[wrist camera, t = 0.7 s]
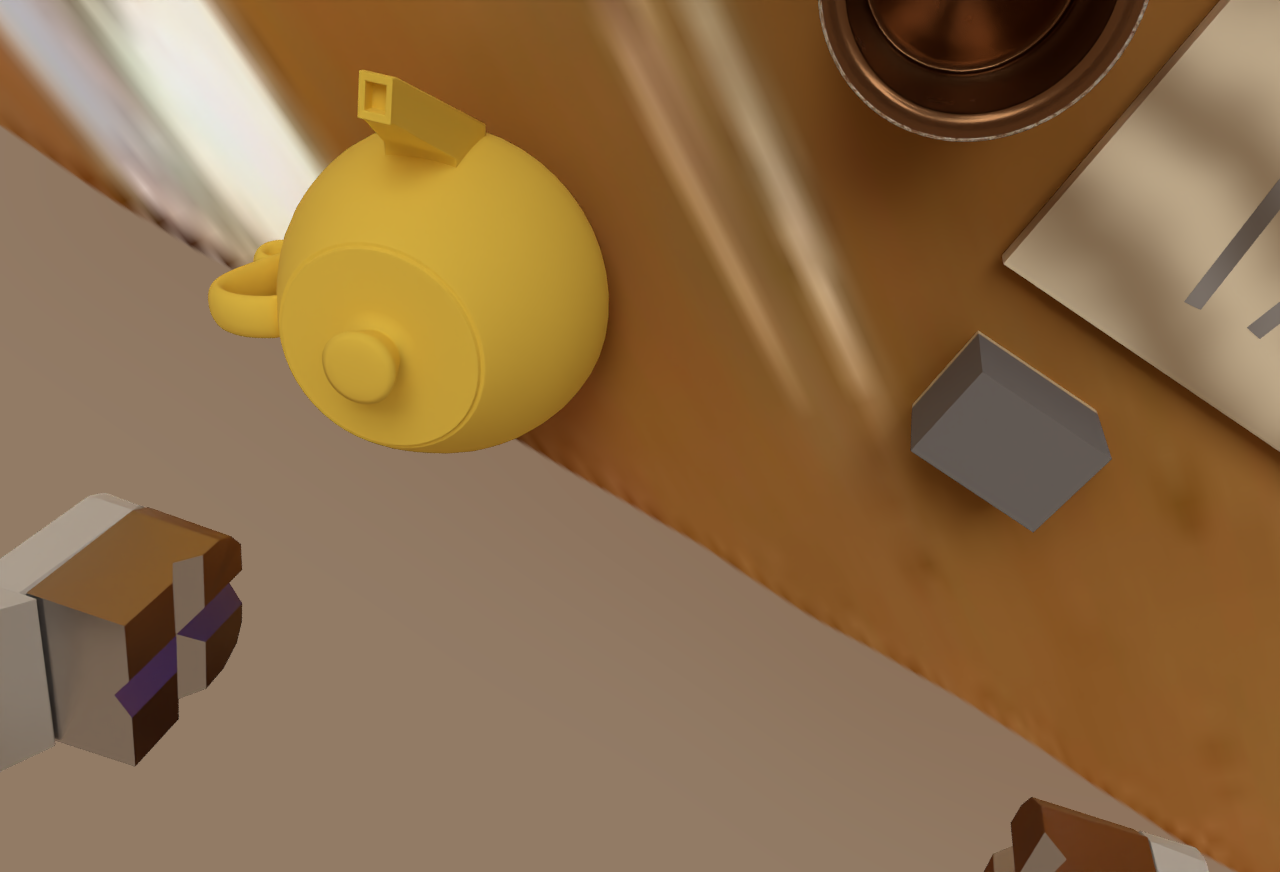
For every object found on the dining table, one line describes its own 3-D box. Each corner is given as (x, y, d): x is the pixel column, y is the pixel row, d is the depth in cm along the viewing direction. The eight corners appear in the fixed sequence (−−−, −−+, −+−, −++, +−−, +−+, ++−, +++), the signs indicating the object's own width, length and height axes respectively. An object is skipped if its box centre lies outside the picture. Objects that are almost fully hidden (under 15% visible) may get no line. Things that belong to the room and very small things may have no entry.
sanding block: (977, 329, 49) (982, 371, 45) (1096, 409, 49) (1111, 458, 45) (912, 403, 52) (910, 450, 47) (1024, 478, 52) (1033, 532, 48)
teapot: (607, 438, 57) (531, 569, 46) (300, 373, 60) (160, 482, 49) (642, 63, 47) (555, 119, 36) (271, 9, 50) (88, 45, 39)
